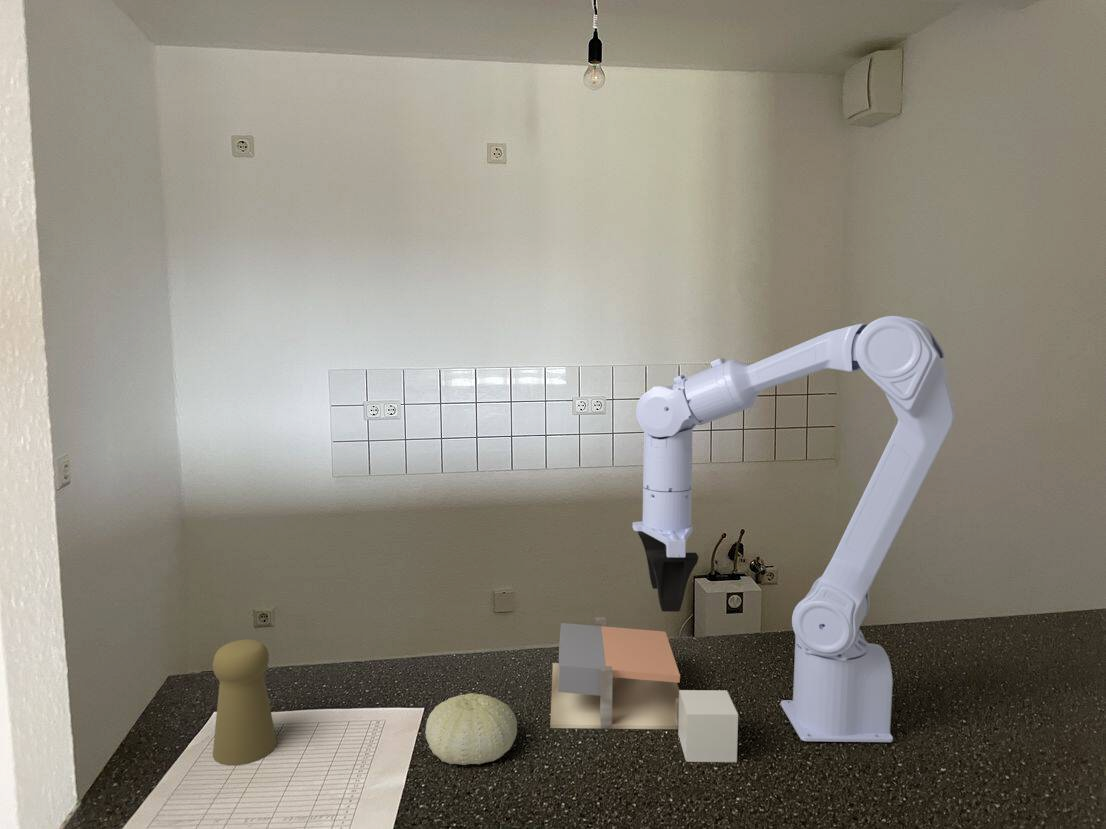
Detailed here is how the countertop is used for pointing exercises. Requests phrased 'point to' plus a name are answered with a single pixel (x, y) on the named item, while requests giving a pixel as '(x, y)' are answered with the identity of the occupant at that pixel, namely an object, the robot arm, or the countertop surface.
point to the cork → (242, 704)
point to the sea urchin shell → (471, 729)
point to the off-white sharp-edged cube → (707, 726)
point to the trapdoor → (612, 656)
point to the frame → (616, 703)
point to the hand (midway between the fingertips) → (665, 598)
